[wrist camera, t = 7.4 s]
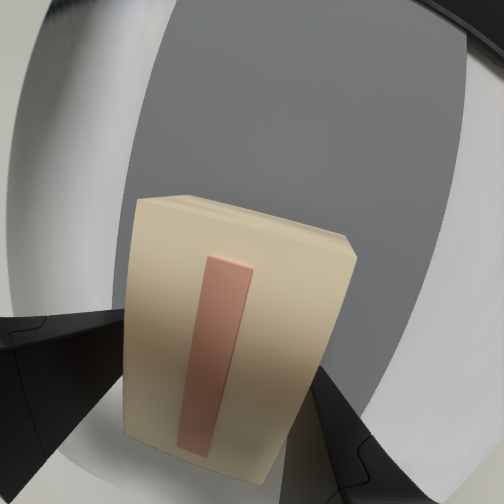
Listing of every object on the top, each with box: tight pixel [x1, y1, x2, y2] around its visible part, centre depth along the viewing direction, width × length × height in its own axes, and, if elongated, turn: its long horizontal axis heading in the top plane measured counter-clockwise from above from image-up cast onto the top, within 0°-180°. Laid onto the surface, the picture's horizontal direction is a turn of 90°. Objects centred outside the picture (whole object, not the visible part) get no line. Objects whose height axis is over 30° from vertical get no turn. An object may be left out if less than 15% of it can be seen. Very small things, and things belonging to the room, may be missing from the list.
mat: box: [112, 0, 467, 417], centre depth 11 cm, size 20×12×1 cm, turn 167°
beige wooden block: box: [123, 195, 357, 486], centre depth 9 cm, size 8×5×3 cm, turn 166°
